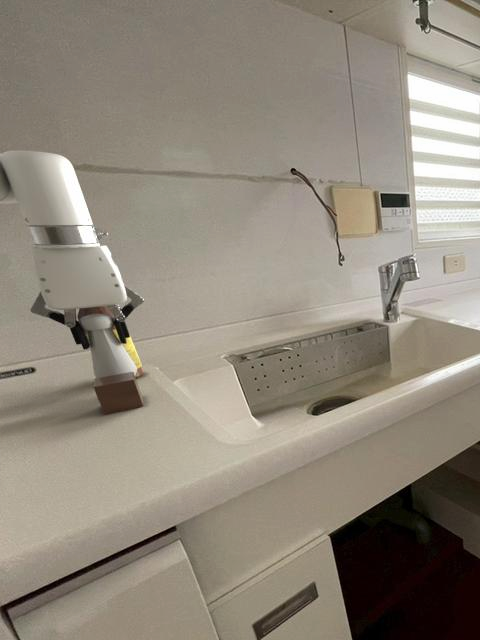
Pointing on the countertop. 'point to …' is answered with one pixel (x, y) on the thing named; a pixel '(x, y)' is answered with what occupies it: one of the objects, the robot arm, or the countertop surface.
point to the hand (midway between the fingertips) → (105, 343)
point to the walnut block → (118, 392)
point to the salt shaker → (106, 347)
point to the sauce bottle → (128, 347)
